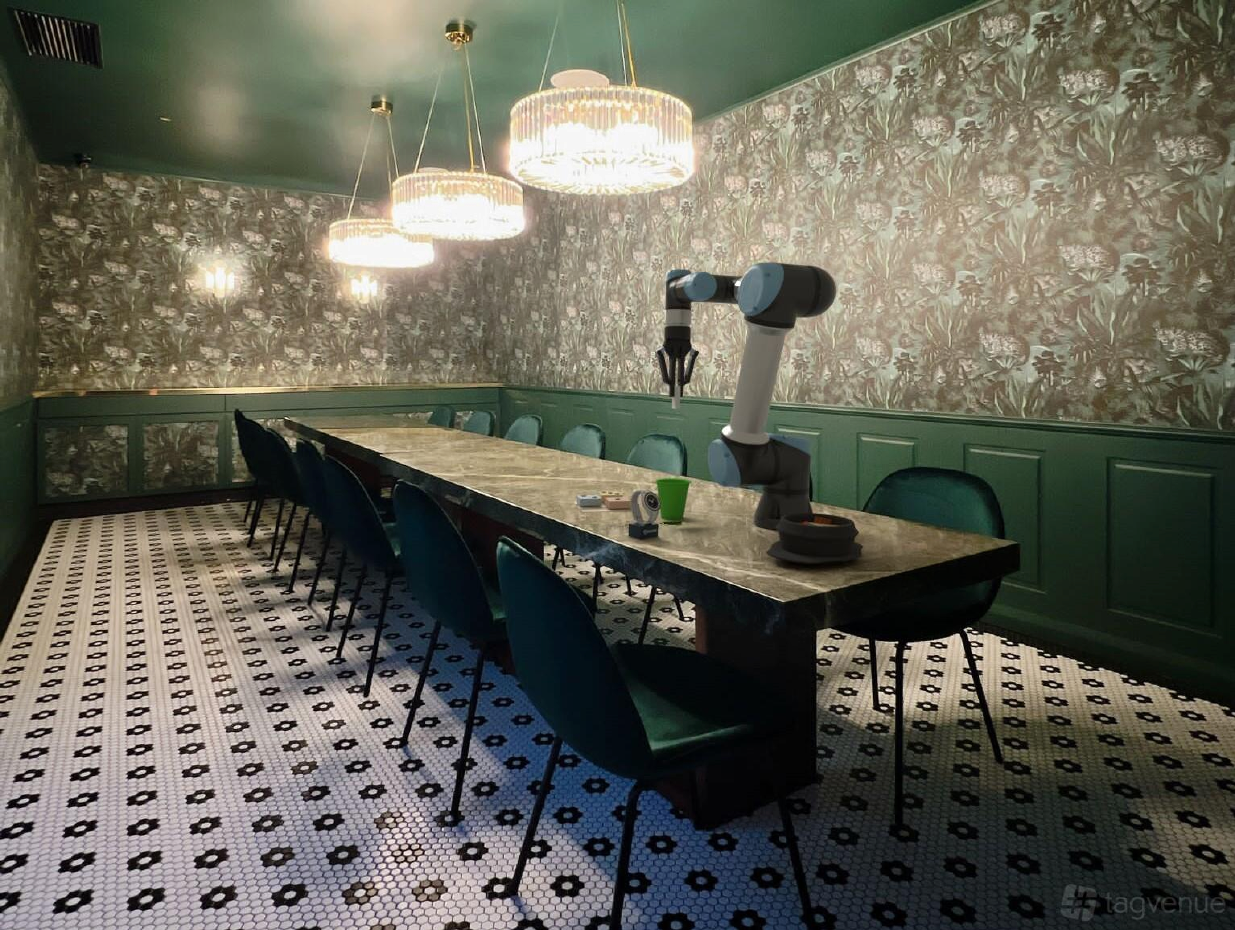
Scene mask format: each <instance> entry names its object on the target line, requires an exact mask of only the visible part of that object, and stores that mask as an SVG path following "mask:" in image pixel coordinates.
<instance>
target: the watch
mask: <svg viewBox="0 0 1235 930" xmlns="http://www.w3.org/2000/svg"><path fill="white" fill-rule="evenodd" d="M639 497H641V500H640V501H641V506H642V508H643V509H644V510H645V512H646V514H647V516H648V518H647V520H645V519H643V515H642V511H641V509H640V504H639ZM630 508H631V511H630V512H631V515H632V517H633V520H634V521H636V522H629V523H628V537H629V536H630V537H629V538H632V537H633V539H636V540H640V541H642V540H647V539H652V538H653V537H654V538H658V537H659V527H660V526H659V523H657V522H655V521H656V520H657V518H658V516H659V514H660V508H661V500H660V499H659V496H658V494H657V493H655V492H654V491H652V490H649V489H639V490H636V491H634V492H632V495H631V497H630Z"/></svg>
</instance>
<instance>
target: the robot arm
mask: <svg viewBox="0 0 1235 930" xmlns="http://www.w3.org/2000/svg"><path fill="white" fill-rule="evenodd" d="M664 281H665V282H664V324H665V325H666V326H665V327H664V328H663V330H664V332H663V334H664V337H663V340H664V341H663V343H662V346H661V347H660V348H659V349H656V350H654V354H655V355H656V357H657V360H658V363H659V368H660V374H661V378H662V383H663V384H665V385H668V390H669V391H668V396H669V397H670V398H671V409H674V410H681V398H683V396H684V386H686V385H687V384H690V383H691V379H692V376H693V371H694V367H695V364H696V360H697V359H698V358H697V357H698V356H699V354H700V350H696V349H695V348H693V344H692V343H691V340H692V339H691V337H692V336H691V335H692V331H691V330H692V328H691V326H690V325H692V303H711V304H712V303H713V304H714V303H715V304H717V303H718V304H730V305H731V304H732V305H738V309H739V310H740V311H741V313H742V314H743V315H744V316H743V321H744V323H745V324H746V326H747V328H748V329H747V334H746V340H745V344H744V349H743V350H744V351H743V355H742V359H741V365H740V370H739V375H738V380H737V384H736V385H737V386H736V390H735V394H734V401H733V405H732V410H731V415H730V420H729V423H728V424H727V425H725V426H724V427H723V428H722V429H721V434H720V437H719V438H718V439H715V440H713V441H711V443H710V444H709V445H708V448H707V464H708V469H709V472H710V474H711V477H712V479H713V480H714V481H715V482H716V483H717V485H719V486H721V487H725V488H736V489H737V488H740V487H741V488H742V487H758V486H759V487H760V486H762V487H761V494H760V495H761V496H760V498H759V501H758V504H757V506H756V509H755V511H754V514H753V524H754V525H756V526H757V527H760V528H764V529H771V530H777V529H776V525H778V524H779V522H780V519H781V517H782V516H785V515H789V514H796V513H814V511H813V506H812V503H811V501H810V494H809V493H810V477H811V476H810V473H811V472H810V471H811V459H812V450H811V449H812V445H811V442H810V440H809V439H808V438H805V437H799V436H793V435H788V434H787V435H785V434H778V433H770V432H766V428H767V422H768V417H769V412H770V409H771V405H772V401H773V400H772V399H773V395H774V391H775V390H774V389H775V385H776V380H777V376H778V372H779V368H780V363H781V359H782V354H783V348H784V344H785V340H786V339H785V338H786V335H787V334H788V333H790V332H791V331H793V330H794V329H795V325H796V321H797V318H805V319H806V318H807V319H809V318H814V317H818V316H821V315H822V314H824V313H825V312H827V311H828V310H829V309H830V308H831V307H832V305H833V303H834V302H835V299H836V294H837V287H836V282H835V279H834V278H833V277H832V276H831V274H830V273H829V272H828V271H827V270H825V269H823V268H821V267H818V266H815V265H805V264H793V263H785V262H777V261H771V262H756V263H754V264H753V265H752V266H751V267H750V268H749V269H747V270H746V272H745V273H744V275H741V276H739V275H738V276H737V275H723V274H711V273H710V272H707V271H696V272H692V271H691V270H689V269H682V268H679V269H676V268H675V269H669V270H667V272H666V274H665V280H664ZM665 354H666V355H667V356H668V363H669V365H668V366H667V362H666V357H665ZM688 354H689V357H688V361H687V365H686V368H685V362H686V357H687V356H688ZM676 366H677V367H676ZM676 376H677V378H676ZM676 380H677V381H676ZM676 382H677V383H676ZM777 531H778V530H777Z"/></svg>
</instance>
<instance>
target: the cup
mask: <svg viewBox="0 0 1235 930" xmlns="http://www.w3.org/2000/svg"><path fill="white" fill-rule="evenodd" d="M654 481H655V483H656V486H657V489H656V490H657V496H658V497H659V499H660V500H661V508H660V510H659V513H660V516H661V517H660V518H662V520H663V519H664V520H673V521H662V524H663V523H664V524H663V525H666V524H667V526H680V525H682V523H683V521H682V520H683V519H684V515H685V509H686V504H687V498H688V493H689V489H690V484H691V483H692V482H691V480H690V479H686V478H685V479H684V478H676V477H675V478H674V477H672V478H671V477H669V478H668V477H666V478H664V477H663V478H656V479H655V480H654ZM679 520H681V521H679Z"/></svg>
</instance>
